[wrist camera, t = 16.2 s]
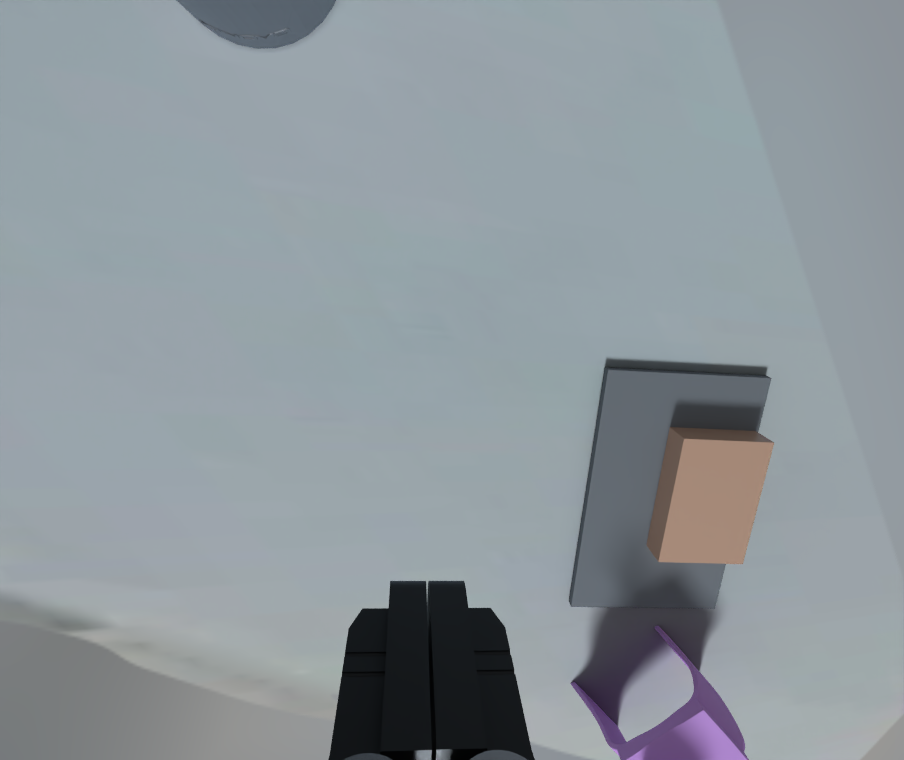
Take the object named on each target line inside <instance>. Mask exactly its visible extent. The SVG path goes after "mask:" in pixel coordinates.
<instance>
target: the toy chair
mask: <svg viewBox="0 0 904 760" xmlns="http://www.w3.org/2000/svg"><path fill="white" fill-rule="evenodd" d="M654 628H655V629H656V631H657V632H658V633H659V634H660V635H661V636H662V638H663V639H664V640H665V641H666V642H667V643H668V645H669V646H670V647H671V648H672V649H673V650H674V652H675V653H676V654H677V655H678V656H679V657H680V659H681V660H682V661H683V662H684V663H685V664H686V665H687V667H688V668H689V669H690V671H691V673H692V677H693V682H694V693H693V695H692V697H691V699H690V700H689V701H688V702H687V703H686V704H685V705H684V706H683V707H681V708H680V709H678V710H677V711H676V712H675V713H673V714H672V715H671V716H670V717H668V718H667V719H666V720H664V721H663V722H662V723H660V724H659V725H657V726H656V727H654V728H652V729H651V730H649V731H647V732H645V733H643V734H641V735H639V736H637V737H635V738H633V739H632V740H630V741H628V742H626V741H625V739H624V737H623V735H622V734H621V732H620V730H619V728H618V726H617V725H616V724H615V723H614V722H613V721H612V720H611V719H610V718H609V717H608V716H607V715H606V714H605V713H604V711H603V710H602V709H601V708H600V707H599V706H598V705H597V704H596V703H595V702H594V701H593V700H592V699H591V698H590V697H589V696H588V695H587V694H586V693H585V692H584V691H583V690H582V689H581V688H580V687H579V686H578V685H577V684H576V683H575V682H573V683H571V685H572V686H573V688H574V689H575V690H576V692H577V693H578V694H579V696H580V697H581V698H582V700H583V701H584V703H585V704H586V705H587V707H588V708H589V710H590V711H591V712H592V714H593V716H594V717H595V719H596V720H597V722H598V724H599V726H600V728H601V730H602V732H603V735H604V737H605V739H606V741H607V743H608V745H609V746H610V747H611V748H612V749H613V750H614V751H615V752H616V753H617V754H618V755H619V756H620V759H621V760H749V759H748V758H747V756H746V755H745V753H744V750H745V743H744V739H743V736H742V734H741V732H740V730H739V728H738V726H737V724H736V722H735V720H734V718H733V716H732V715H731V713H730V711H729V710H728V708H727V706H726V705H725V703H724V702H723V700H722V699H721V697H720V696H719V695H718V693H717V692H716V691H715V689H714V688H713V687H712V686H711V685H710V683H709V682H708V681H707V680H706V679H705V678H704V676H703V675H702V674H701V673H700V672H699V671H698V669H697V668H696V667H695V666H694V665H693V664H692V662H691V661H690V660H689V659H688V658H687V656H686V655H685V654H684V653H683V652H682V651H681V650H680V648H679V647H678V646H677V645H676V644H675V643H674V642H673V641H672V640H671V638H670V637H669V636H668V635H667V634H666V633H665V632H664V631H663V630H662V629H661V628H660V627H659V626H658V625H657V626H655V627H654Z"/></svg>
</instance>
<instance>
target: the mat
mask: <svg viewBox="0 0 904 760" xmlns="http://www.w3.org/2000/svg"><path fill="white" fill-rule="evenodd" d="M770 382H771V378H770V377H768V376H763V375H743V374H724V373H704V372H685V371H665V370H646V369H626V368H607V367H605V371H604V378H603V384H602V390H601V397H600V403H599V410H598V416H597V423H596V429H595V436H594V442H593V449H592V455H591V462H590V468H589V475H588V481H587V488H586V494H585V501H584V507H583V513H582V520H581V526H580V533H579V539H578V546H577V552H576V559H575V565H574V572H573V578H572V585H571V591H570V598H569V602H570V605H571V607H635V608H707V609H715V606H716V602H717V598H718V594H719V589H720V585H721V581H722V577H723V573H724V569H725V565H726V564H717V563H675V562H658V561H657V559H656V558H655V557H654V555H653V554H652V552H651V551H650V550H649V548H648V547H647V545H646V544H647V539H648V534H649V529H650V524H651V519H652V514H653V509H654V504H655V499H656V494H657V489H658V484H659V479H660V474H661V469H662V464H663V459H664V454H665V449H666V444H667V439H668V434H669V429H670V427H679V428H701V429H723V430H745V431H756V432H758V431H759V427H760V422H761V418H762V414H763V410H764V406H765V402H766V398H767V394H768V390H769V386H770Z"/></svg>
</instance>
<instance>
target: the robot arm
mask: <svg viewBox="0 0 904 760" xmlns="http://www.w3.org/2000/svg"><path fill="white" fill-rule="evenodd" d="M176 1H178V2H179V3H180V4H181V5H182V6H183V7H184V8H185V9H186V10H187V11H189V12H190V13H191V14H192V15H193V16H194V17H195V18H196V19H197V20H198V21H199V22H201V23H202V24H203V25H204V26H206V27H207V28H209V29H210V30H211V31H213V32H214V33H215V34H217V35H218V36H220V37H222V38H224V39H227V40H229V41H231V42H233V43H235V44H238V45H242V46H247V47H252V48H277V47H281V46H285V45H289V44H292V43H294V42H296V41H298V40H300V39H302V38H303V37H305V36H307V35H309V34H310V33H311V32H312V31H313V30H314V29H315V28H316V27H317V26H319V25H320V24H321V23H322V22H323V20H324V19H325V18H326V16H327V15H328V13H329V12H330V10H331V9H332V7H333V6H334V4H335V1H336V0H176ZM329 760H535V759H534V757H533V753H532V750H531V745H530V741H529V736H528V731H527V727H526V722H525V718H524V713H523V708H522V704H521V699H520V694H519V690H518V685H517V680H516V676H515V674H514V667H513V662H512V657H511V655H510V648H509V643H508V639H507V634H506V629H505V627H504V625H503V624H502V623H501V621H500V620H499V619H498V617H497V616H496V615H495V613H494V612H493V611H492V609H491V608H468V603H467V595H466V588H465V583H464V581H429V582H428V597H427V594H426V581H390V596H389V608H388V609H362V610H361V612H360V613H359V614H358V616H357V617H356V619H355V620H354V622H353V623H352V625H351V626H350V628H349V631H348V637H347V644H346V650H345V657H344V664H343V670H342V677H341V684H340V690H339V697H338V704H337V710H336V717H335V724H334V730H333V737H332V744H331V751H330V756H329Z"/></svg>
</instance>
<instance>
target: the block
mask: <svg viewBox="0 0 904 760" xmlns="http://www.w3.org/2000/svg"><path fill="white" fill-rule="evenodd" d="M773 445H774V442H772V441H771V440H769V439H767V438H766V437H764V436H763V435H761V434H759V433H758V432H756V431H745V430H723V429H701V428H679V427H670V429H669V434H668V439H667V444H666V449H665V454H664V459H663V464H662V469H661V474H660V479H659V484H658V489H657V494H656V499H655V504H654V509H653V514H652V519H651V524H650V529H649V534H648V539H647V544H646V545H647V547H648V548H649V550H650V551H651V552H652V554H653V555H654V557H655V558H656V559H657V561H658V562H675V563H717V564H743V561H744V557H745V553H746V550H747V546H748V542H749V538H750V534H751V530H752V526H753V523H754V519H755V515H756V511H757V507H758V503H759V499H760V496H761V492H762V488H763V484H764V480H765V476H766V472H767V469H768V465H769V461H770V457H771V453H772V449H773Z"/></svg>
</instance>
